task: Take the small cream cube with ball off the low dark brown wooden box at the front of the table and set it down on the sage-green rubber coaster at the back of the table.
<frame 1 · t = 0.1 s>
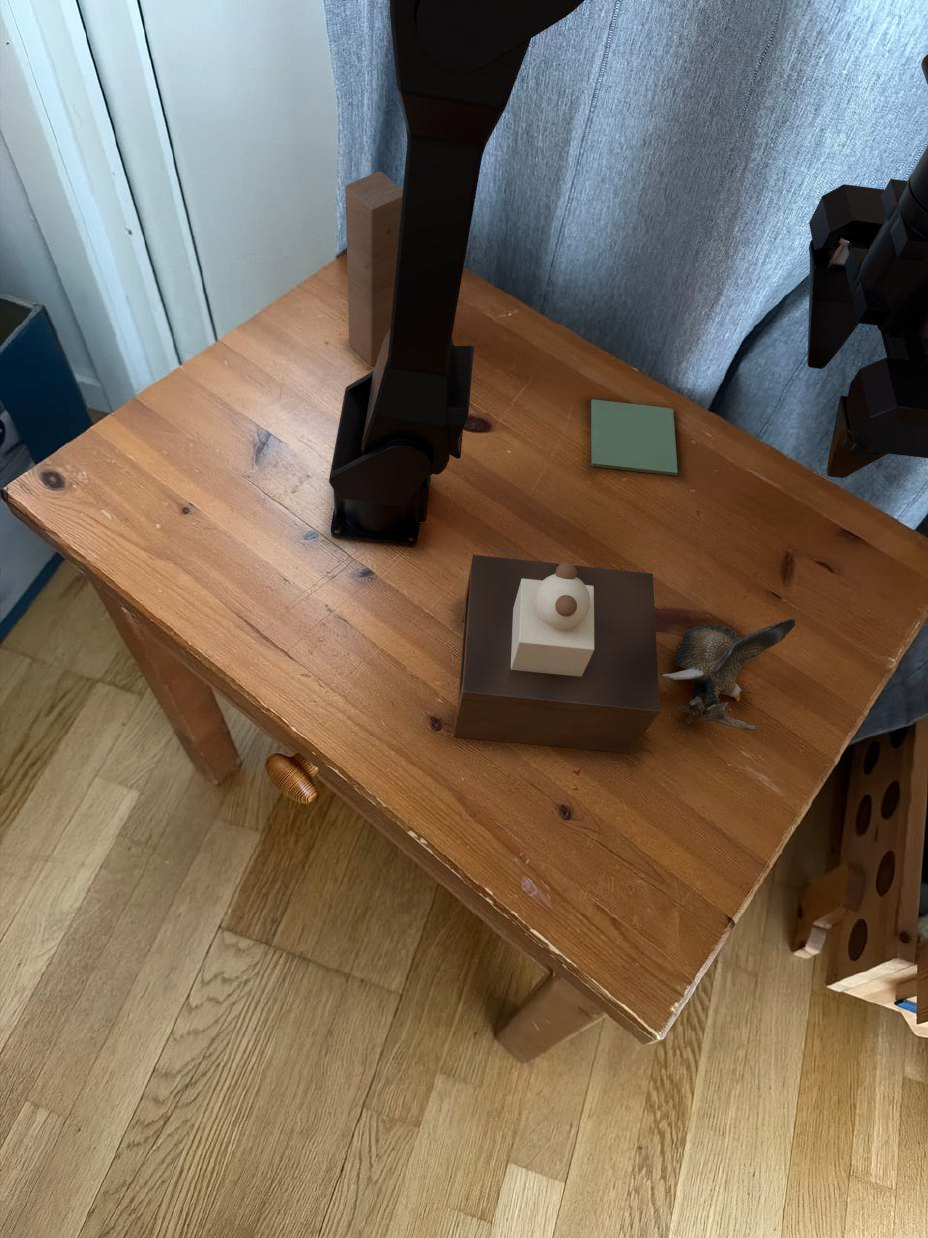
hand: (824, 418, 57), 15 cm above the table, tool pointing down, fingers open, 9 cm apart
cream cube with ball: (546, 642, 56), point 7 cm above the table, touching dark brown wooden box
wooden block: (390, 342, 77), on the table
coaster: (632, 438, 74), on the table
dark brown wooden box: (543, 678, 62), on the table
eagle figurine: (710, 683, 64), on the table
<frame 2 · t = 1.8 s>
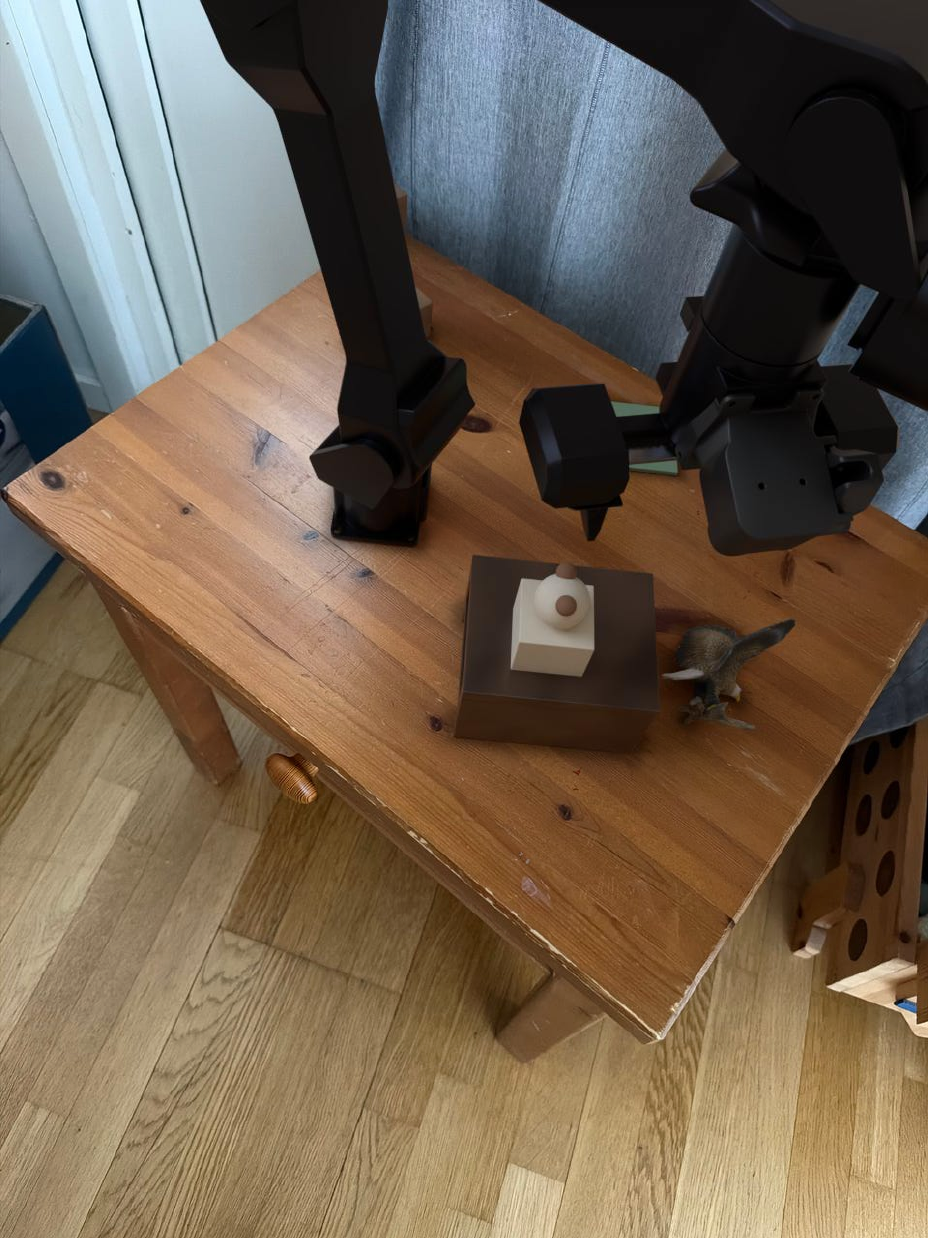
hand: (662, 526, 53), 14 cm above the table, tool pointing down, fingers open, 9 cm apart
nothing on the table moved.
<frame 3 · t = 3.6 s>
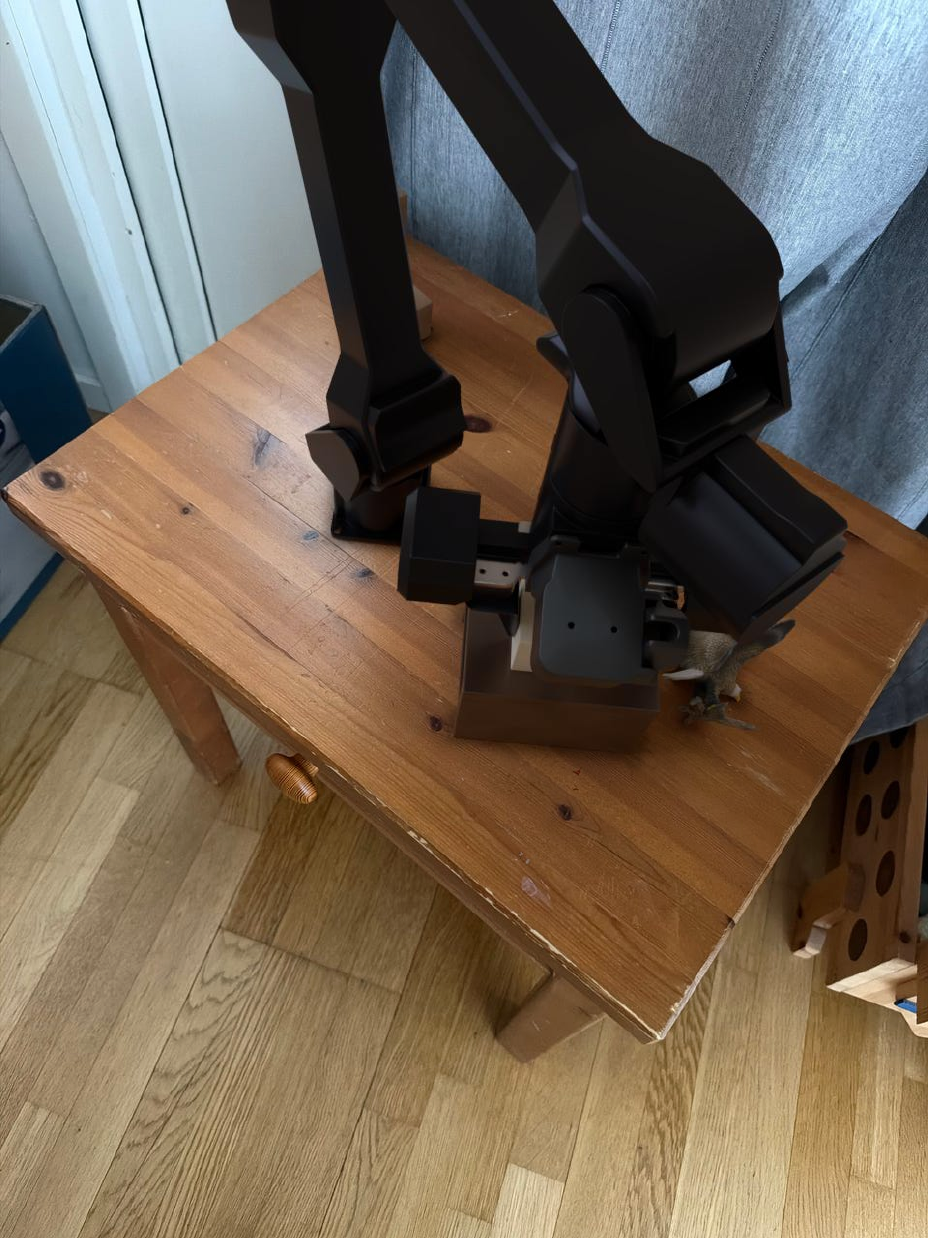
hand: (549, 634, 55), 8 cm above the table, tool pointing down, fingers closed on cream cube with ball, 4 cm apart
cream cube with ball: (547, 642, 56), point 7 cm above the table, touching gripper, dark brown wooden box
everything else where it was.
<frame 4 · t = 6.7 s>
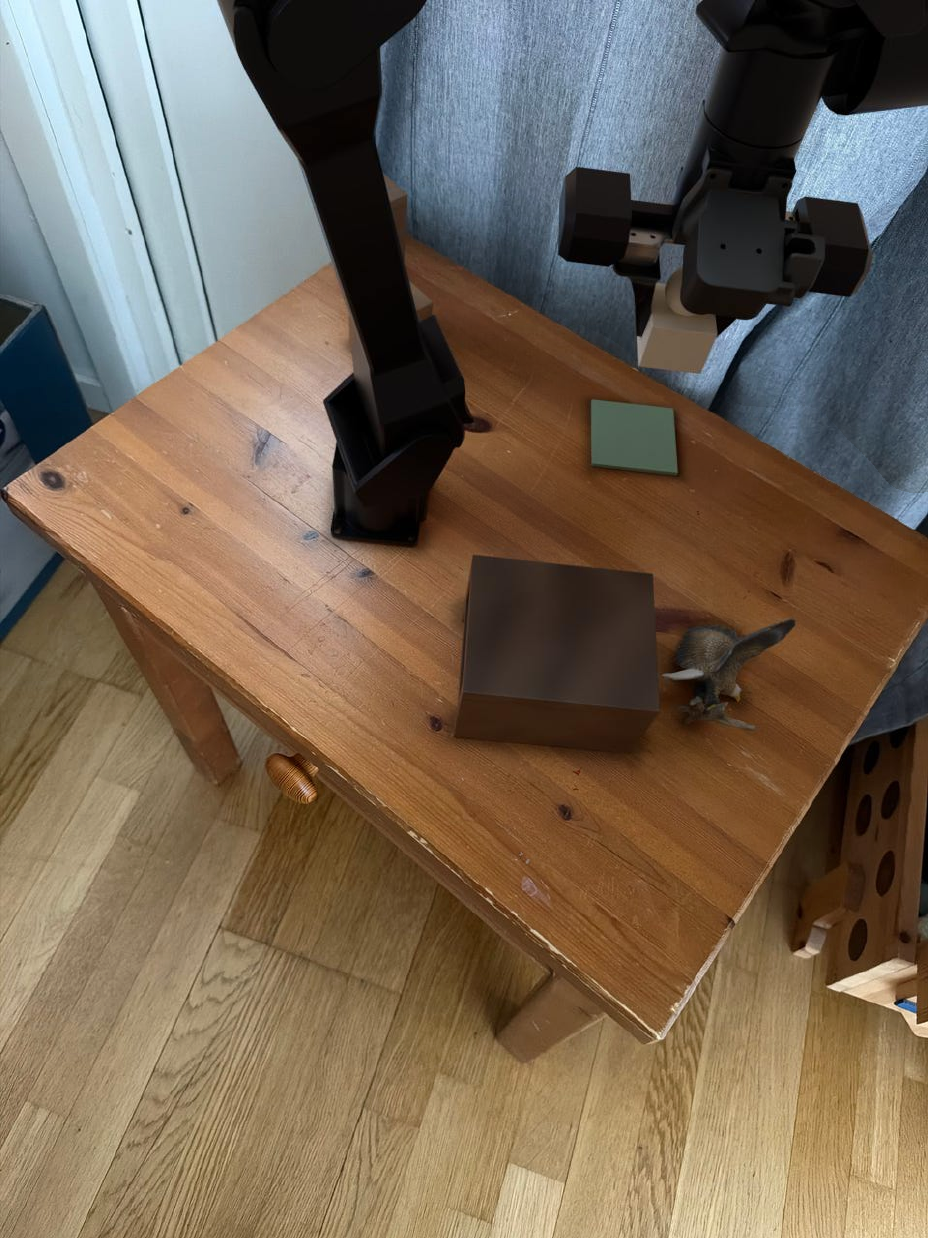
hand: (671, 336, 62), 13 cm above the table, tool pointing down, fingers closed on cream cube with ball, 4 cm apart
cream cube with ball: (667, 348, 63), point 12 cm above the table, touching gripper
everything else where it was.
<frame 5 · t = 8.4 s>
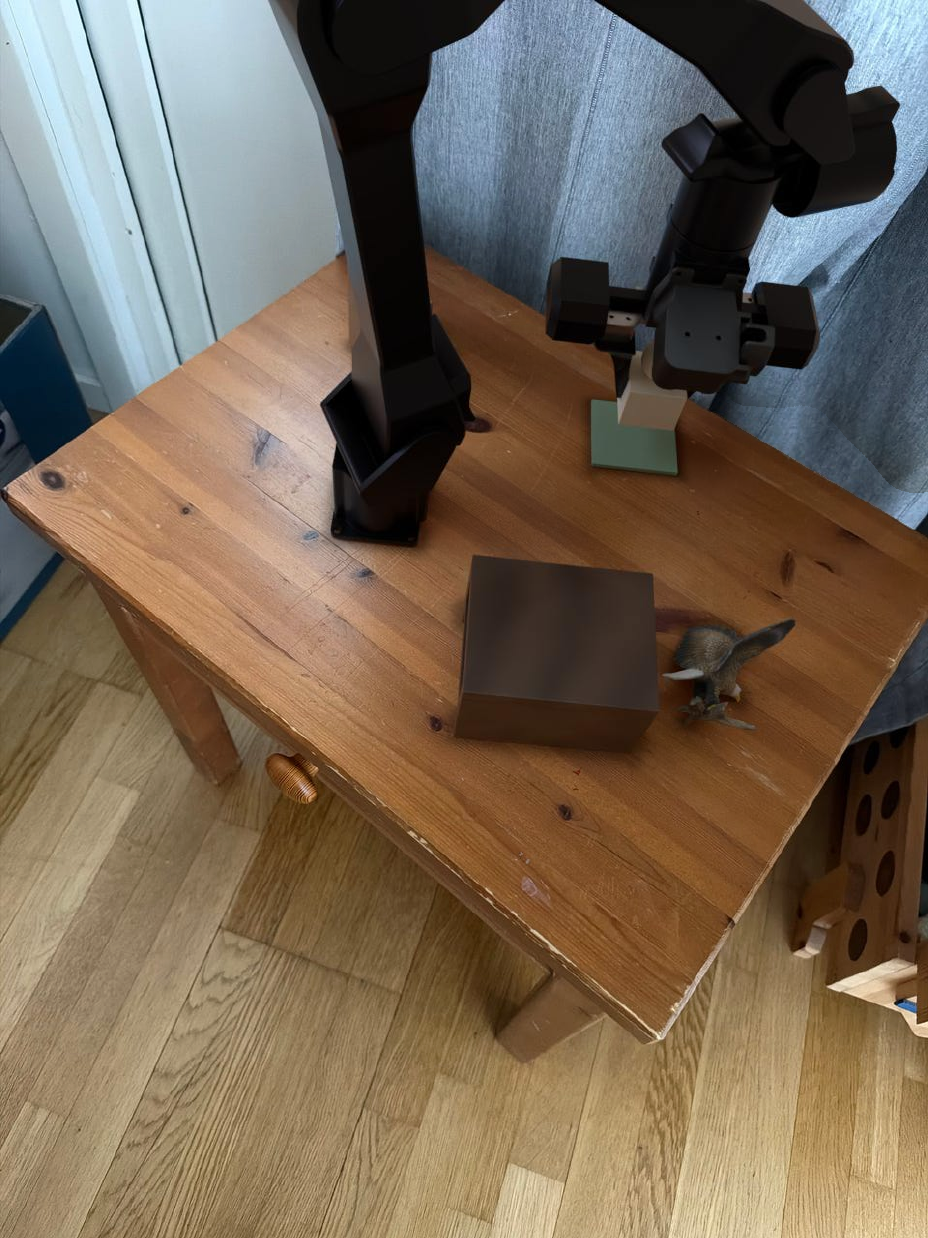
hand: (647, 397, 70), 5 cm above the table, tool pointing down, fingers closed on cream cube with ball, 4 cm apart
cream cube with ball: (644, 406, 71), point 4 cm above the table, touching gripper
everything else where it was.
when the fingers open (1 cm above the table, at t = 9.7 s): cream cube with ball stays where it is, resting on coaster.
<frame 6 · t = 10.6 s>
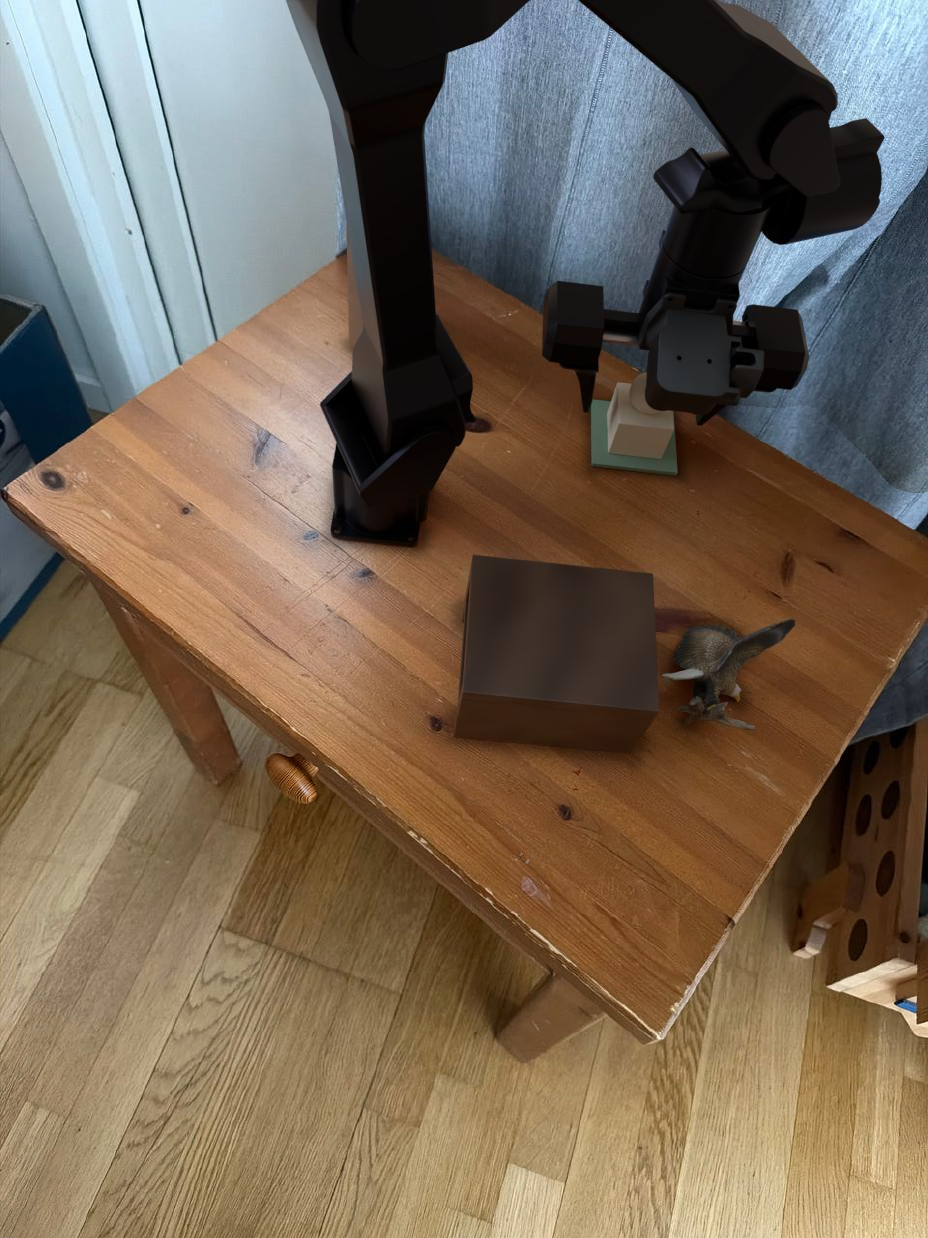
hand: (642, 415, 72), 3 cm above the table, tool pointing down, fingers open, 9 cm apart
cream cube with ball: (633, 435, 74), resting on coaster
everything else where it was.
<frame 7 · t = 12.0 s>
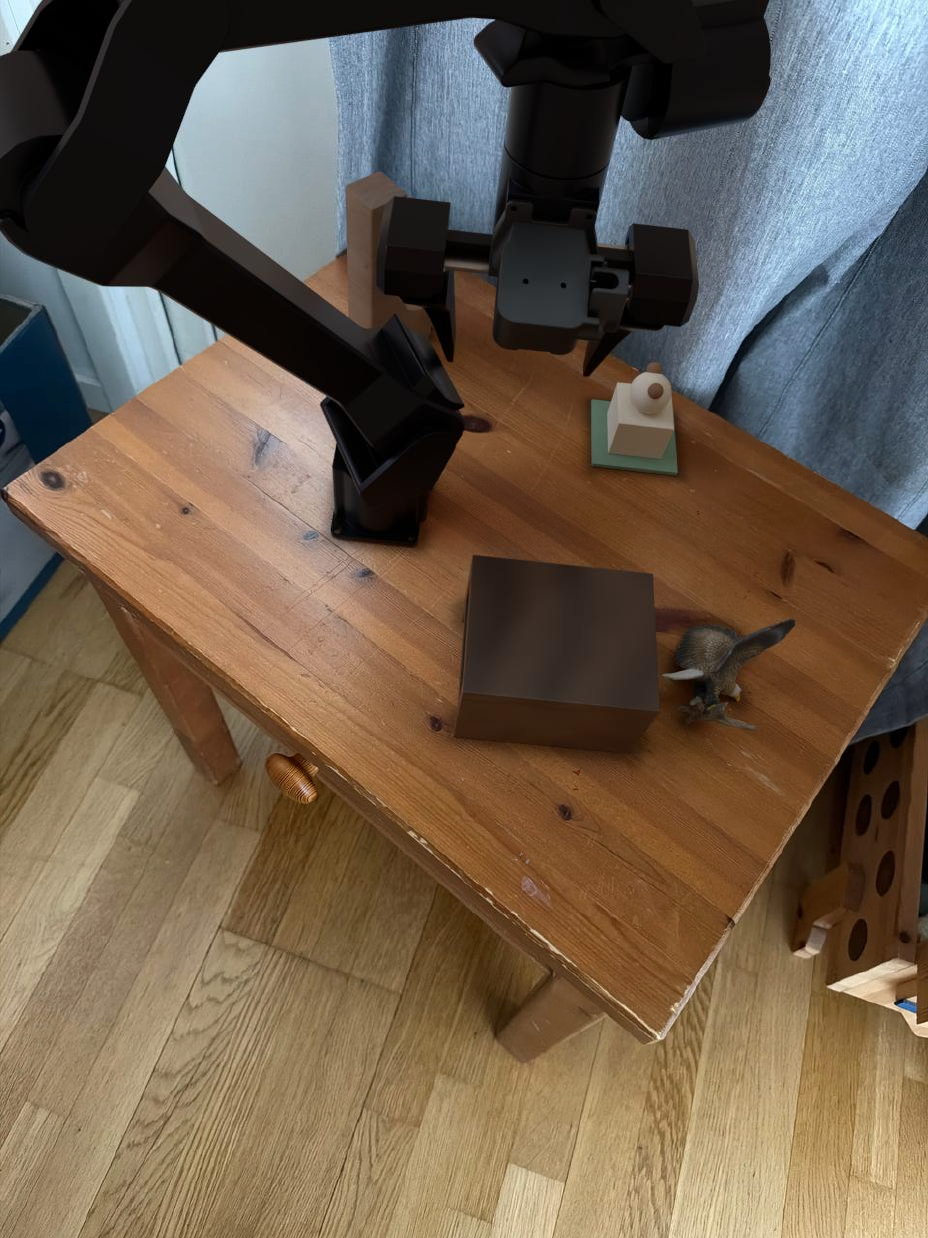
hand: (518, 365, 61), 12 cm above the table, tool pointing down, fingers open, 9 cm apart
nothing on the table moved.
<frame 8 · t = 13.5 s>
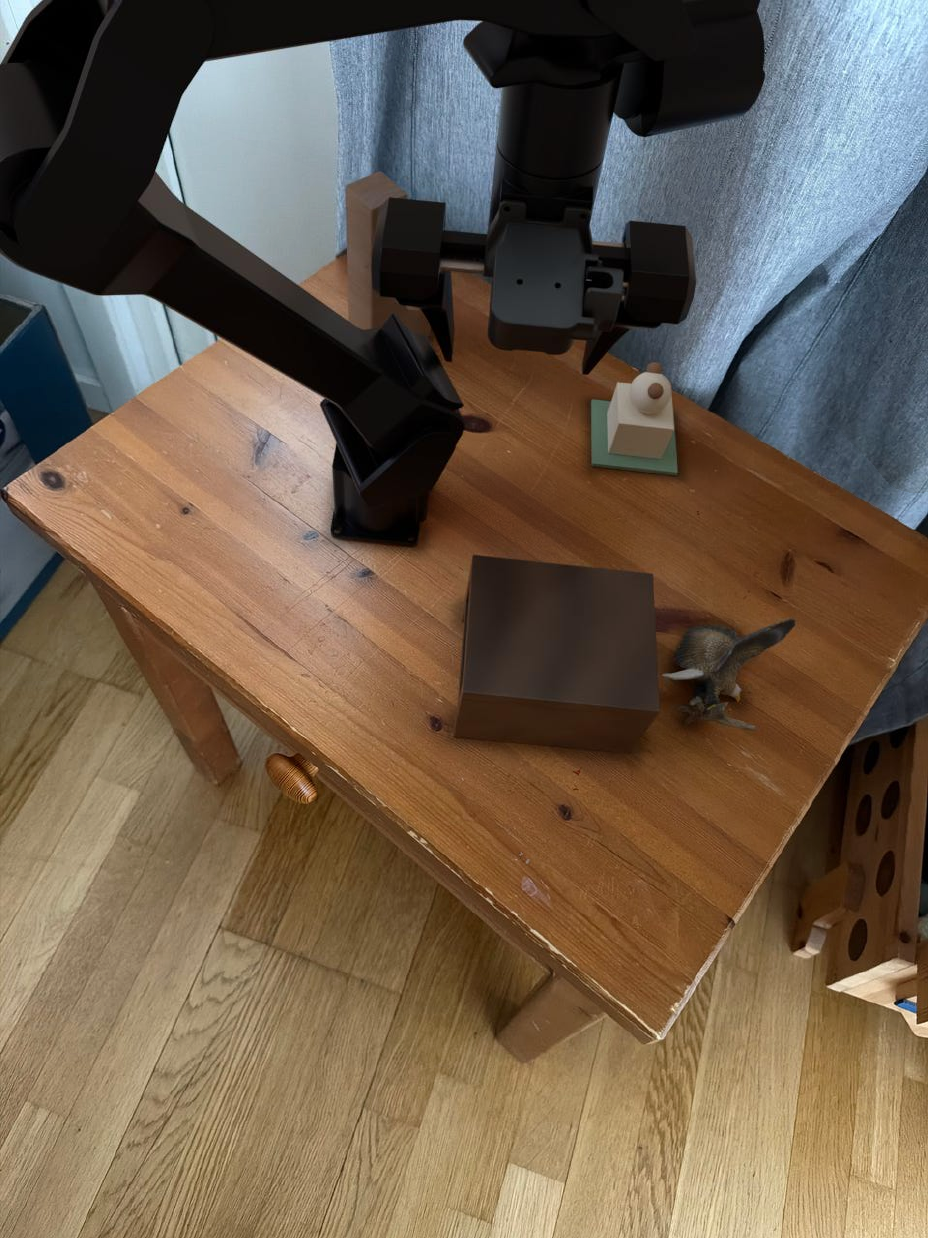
hand: (517, 363, 60), 12 cm above the table, tool pointing down, fingers open, 9 cm apart
nothing on the table moved.
at the end: cream cube with ball 0.1 cm off-centre on the coaster, point 0.4 cm above the coaster's base; cream cube with ball tilted 0°; cream cube with ball touching coaster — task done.
